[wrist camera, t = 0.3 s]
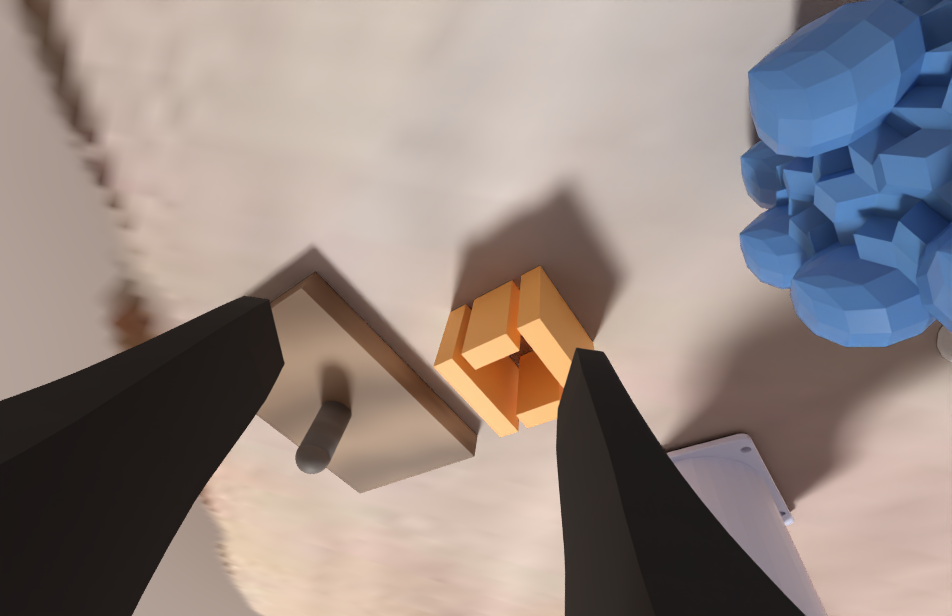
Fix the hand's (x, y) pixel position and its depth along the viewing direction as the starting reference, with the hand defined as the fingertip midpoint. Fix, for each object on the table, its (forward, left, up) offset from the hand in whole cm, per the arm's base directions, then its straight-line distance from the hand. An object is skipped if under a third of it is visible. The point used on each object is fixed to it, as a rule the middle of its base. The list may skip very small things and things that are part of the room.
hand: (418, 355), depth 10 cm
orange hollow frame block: (-7, +2, -10) cm, 12 cm away
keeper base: (-6, +14, -10) cm, 18 cm away
